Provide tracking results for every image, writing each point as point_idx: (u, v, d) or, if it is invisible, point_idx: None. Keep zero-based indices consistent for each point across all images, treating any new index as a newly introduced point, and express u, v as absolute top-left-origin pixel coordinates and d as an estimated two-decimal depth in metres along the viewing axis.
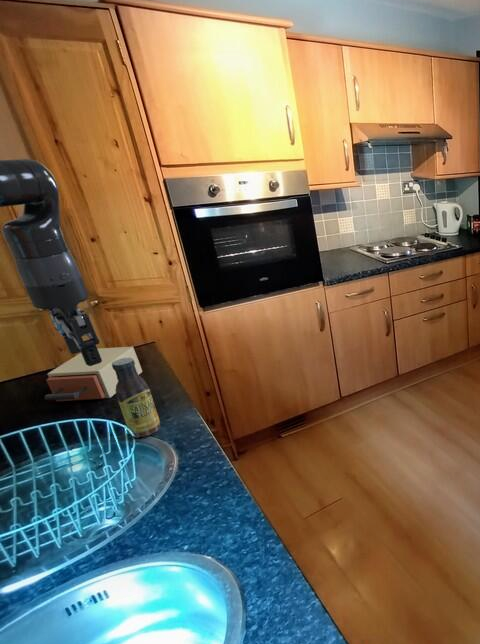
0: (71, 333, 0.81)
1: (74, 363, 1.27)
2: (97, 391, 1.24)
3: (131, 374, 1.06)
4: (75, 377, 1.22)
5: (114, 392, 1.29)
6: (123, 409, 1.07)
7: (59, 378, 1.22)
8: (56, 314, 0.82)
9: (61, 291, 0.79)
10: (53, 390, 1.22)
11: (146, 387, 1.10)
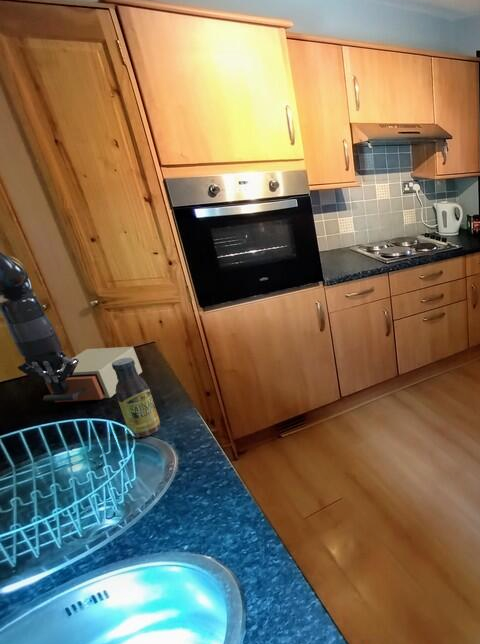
0: (55, 372, 1.16)
1: None
2: (96, 392, 1.24)
3: (131, 374, 1.06)
4: (73, 378, 1.22)
5: (114, 392, 1.29)
6: (123, 409, 1.07)
7: None
8: (37, 361, 1.14)
9: (52, 340, 1.13)
10: (52, 391, 1.22)
11: (146, 387, 1.10)
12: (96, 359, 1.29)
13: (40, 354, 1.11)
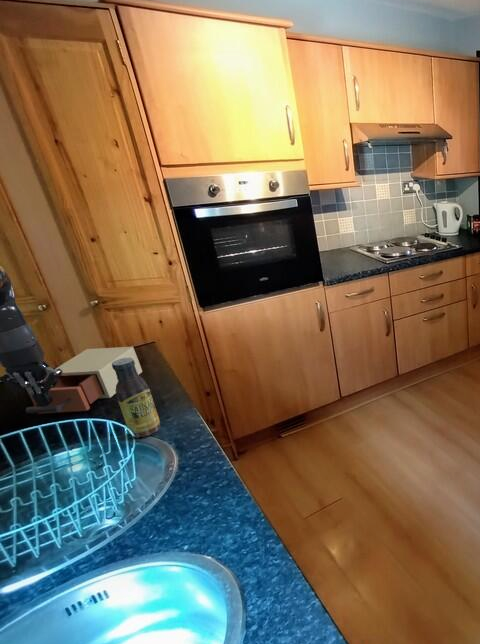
0: (37, 383, 1.11)
1: (74, 363, 1.27)
2: (81, 403, 1.19)
3: (131, 374, 1.06)
4: (58, 388, 1.17)
5: (114, 392, 1.29)
6: (123, 409, 1.07)
7: None
8: (19, 371, 1.09)
9: (34, 349, 1.08)
10: (35, 402, 1.17)
11: (146, 387, 1.10)
12: (96, 359, 1.29)
13: (21, 364, 1.07)
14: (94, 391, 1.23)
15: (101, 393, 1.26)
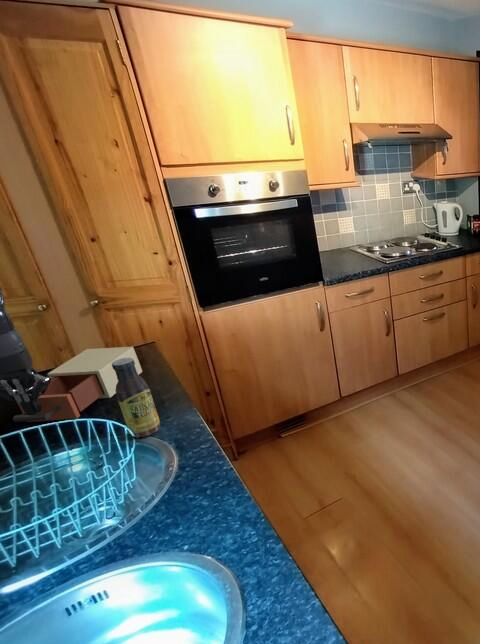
0: (25, 391, 1.08)
1: (74, 363, 1.27)
2: (71, 411, 1.16)
3: (131, 374, 1.06)
4: (47, 396, 1.14)
5: (114, 392, 1.29)
6: (123, 409, 1.07)
7: None
8: (6, 378, 1.06)
9: (22, 356, 1.05)
10: (23, 410, 1.14)
11: (146, 387, 1.10)
12: (96, 359, 1.29)
13: (9, 372, 1.03)
14: (84, 398, 1.20)
15: (92, 400, 1.23)
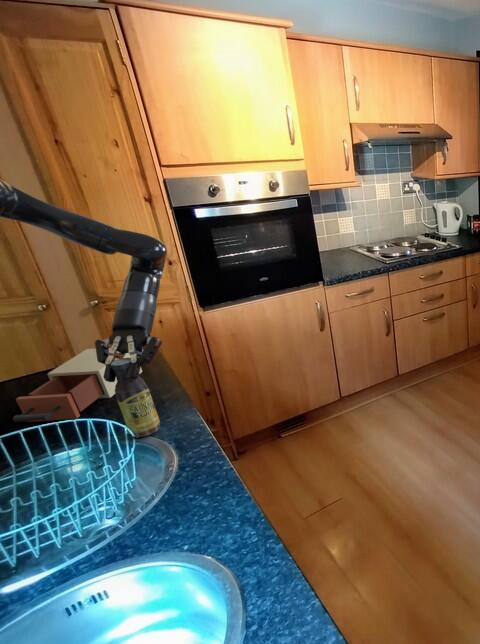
0: (135, 350, 1.07)
1: (74, 363, 1.27)
2: (71, 411, 1.16)
3: None
4: (47, 396, 1.14)
5: (114, 392, 1.29)
6: (123, 409, 1.07)
7: (30, 397, 1.13)
8: (122, 337, 1.07)
9: (150, 318, 1.11)
10: (23, 410, 1.14)
11: (145, 387, 1.10)
12: (96, 359, 1.29)
13: (132, 323, 1.07)
14: (84, 398, 1.20)
15: (92, 400, 1.23)
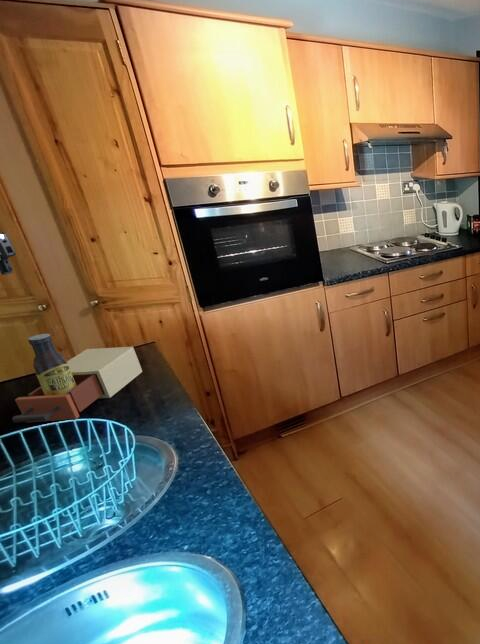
0: None
1: (74, 363, 1.27)
2: (70, 411, 1.15)
3: (48, 349, 1.14)
4: (46, 396, 1.13)
5: (114, 392, 1.29)
6: (41, 382, 1.15)
7: (29, 398, 1.13)
8: None
9: None
10: (23, 410, 1.14)
11: (64, 362, 1.17)
12: (96, 359, 1.29)
13: None
14: (84, 399, 1.20)
15: (91, 400, 1.22)
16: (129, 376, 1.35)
